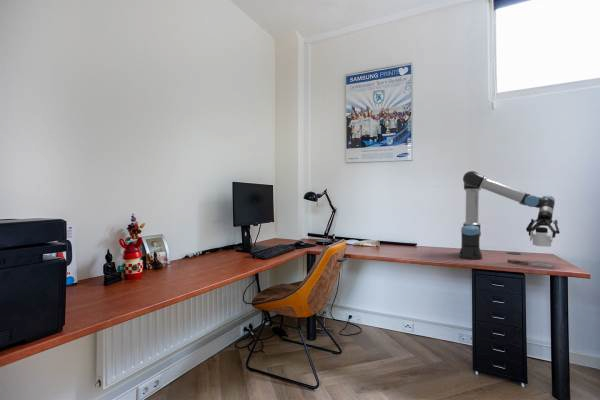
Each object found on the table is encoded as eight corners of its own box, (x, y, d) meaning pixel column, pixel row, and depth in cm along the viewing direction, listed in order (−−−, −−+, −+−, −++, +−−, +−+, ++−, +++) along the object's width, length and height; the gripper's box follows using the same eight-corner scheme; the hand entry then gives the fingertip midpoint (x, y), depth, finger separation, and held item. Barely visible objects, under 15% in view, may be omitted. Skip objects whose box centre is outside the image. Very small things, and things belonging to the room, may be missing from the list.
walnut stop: (507, 262, 204) (507, 259, 203) (507, 262, 204) (507, 259, 204) (527, 265, 195) (527, 262, 195) (527, 265, 196) (527, 261, 196)
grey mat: (530, 265, 195) (530, 264, 195) (534, 263, 201) (533, 262, 201) (550, 267, 187) (550, 267, 187) (553, 265, 194) (553, 264, 194)
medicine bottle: (551, 246, 190) (551, 227, 190) (538, 246, 192) (538, 227, 192) (544, 244, 197) (544, 226, 197) (532, 244, 199) (532, 226, 199)
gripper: (567, 219, 196) (564, 245, 186) (526, 217, 213) (520, 242, 202) (566, 211, 193) (562, 238, 182) (524, 210, 209) (518, 234, 199)
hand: (540, 240), depth 192 cm, fingers closed on medicine bottle, 10 cm apart
